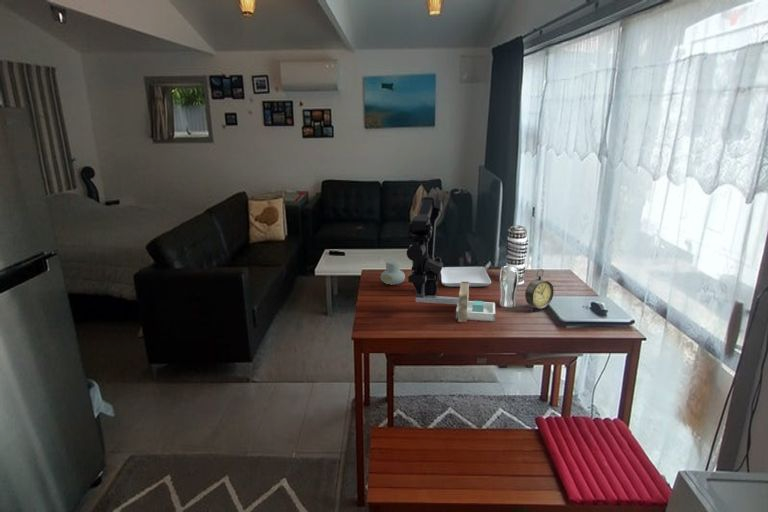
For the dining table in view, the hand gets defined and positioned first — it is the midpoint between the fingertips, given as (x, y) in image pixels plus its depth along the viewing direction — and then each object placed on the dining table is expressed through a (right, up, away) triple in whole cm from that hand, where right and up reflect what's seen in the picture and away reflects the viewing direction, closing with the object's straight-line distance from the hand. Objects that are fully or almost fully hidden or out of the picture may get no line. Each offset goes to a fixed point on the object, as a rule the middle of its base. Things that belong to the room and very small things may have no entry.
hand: (420, 292), depth 176 cm
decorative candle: (+44, +2, +30) cm, 54 cm away
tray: (+21, -8, -2) cm, 22 cm away
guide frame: (+16, -8, -1) cm, 18 cm away
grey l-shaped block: (+7, -4, 0) cm, 8 cm away
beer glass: (+35, -5, +6) cm, 36 cm away
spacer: (+19, -5, -3) cm, 20 cm away
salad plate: (+22, +2, +33) cm, 40 cm away
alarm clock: (+45, -7, +2) cm, 46 cm away
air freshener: (-10, +2, +32) cm, 33 cm away
